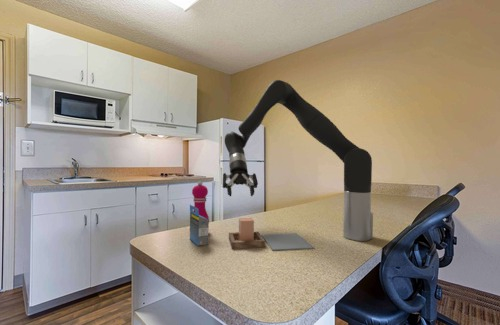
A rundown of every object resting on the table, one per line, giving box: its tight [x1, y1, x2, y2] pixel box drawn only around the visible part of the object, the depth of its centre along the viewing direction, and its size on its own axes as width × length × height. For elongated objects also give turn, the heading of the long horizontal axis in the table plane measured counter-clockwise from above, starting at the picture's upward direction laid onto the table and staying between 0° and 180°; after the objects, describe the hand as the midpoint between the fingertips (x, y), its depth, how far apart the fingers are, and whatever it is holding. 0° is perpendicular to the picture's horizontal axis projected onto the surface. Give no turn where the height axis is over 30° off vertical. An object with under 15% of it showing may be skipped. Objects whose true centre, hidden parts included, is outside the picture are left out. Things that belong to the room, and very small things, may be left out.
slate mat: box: [260, 232, 315, 252], centre depth 86 cm, size 14×16×1 cm
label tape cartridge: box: [189, 204, 210, 247], centre depth 84 cm, size 9×4×12 cm, turn 32°
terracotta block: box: [238, 217, 255, 241], centre depth 84 cm, size 4×4×8 cm
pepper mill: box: [191, 180, 210, 221], centre depth 95 cm, size 7×7×20 cm
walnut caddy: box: [228, 231, 266, 250], centre depth 84 cm, size 11×11×2 cm
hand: (241, 195), depth 96 cm, fingers open, 8 cm apart
